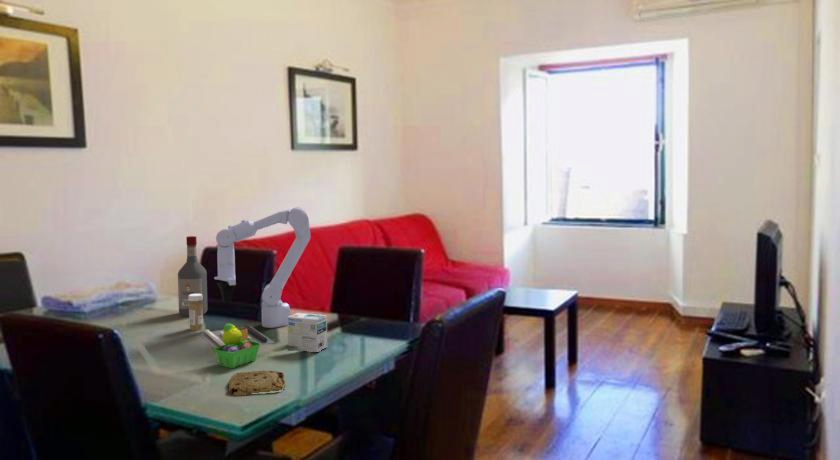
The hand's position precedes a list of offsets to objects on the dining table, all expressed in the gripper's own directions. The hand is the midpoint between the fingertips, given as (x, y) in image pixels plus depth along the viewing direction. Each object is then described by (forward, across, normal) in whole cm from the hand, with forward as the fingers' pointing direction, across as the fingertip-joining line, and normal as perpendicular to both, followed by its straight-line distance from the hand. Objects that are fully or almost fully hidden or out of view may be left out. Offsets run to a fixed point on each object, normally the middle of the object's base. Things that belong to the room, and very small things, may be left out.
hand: (227, 302), depth 216 cm
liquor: (+10, -32, -4) cm, 34 cm away
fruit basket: (+10, +37, -8) cm, 39 cm away
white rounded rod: (+8, +16, -8) cm, 20 cm away
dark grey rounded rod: (+8, +16, +4) cm, 19 cm away
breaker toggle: (+8, +21, -2) cm, 23 cm away
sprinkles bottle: (+10, -2, -10) cm, 14 cm away
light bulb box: (+10, +35, +15) cm, 39 cm away
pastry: (+11, +59, -9) cm, 61 cm away
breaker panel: (+10, +16, -2) cm, 19 cm away
